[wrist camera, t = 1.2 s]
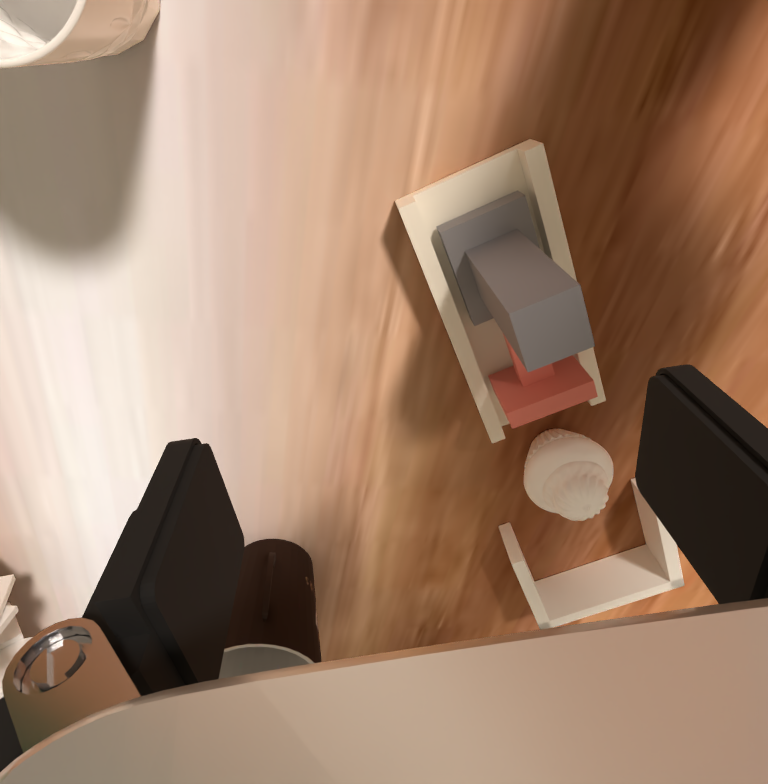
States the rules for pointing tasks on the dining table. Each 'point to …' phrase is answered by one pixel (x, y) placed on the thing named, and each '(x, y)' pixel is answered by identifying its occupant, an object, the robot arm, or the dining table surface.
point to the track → (421, 216)
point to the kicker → (522, 308)
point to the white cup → (70, 29)
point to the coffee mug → (272, 611)
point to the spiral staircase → (8, 627)
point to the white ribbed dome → (568, 474)
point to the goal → (601, 575)
